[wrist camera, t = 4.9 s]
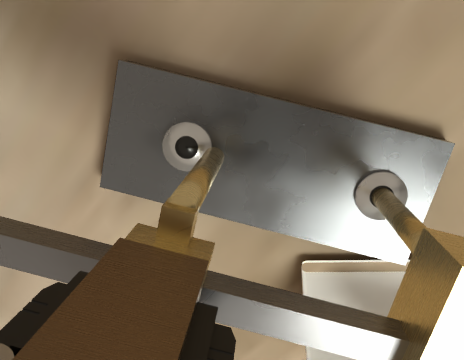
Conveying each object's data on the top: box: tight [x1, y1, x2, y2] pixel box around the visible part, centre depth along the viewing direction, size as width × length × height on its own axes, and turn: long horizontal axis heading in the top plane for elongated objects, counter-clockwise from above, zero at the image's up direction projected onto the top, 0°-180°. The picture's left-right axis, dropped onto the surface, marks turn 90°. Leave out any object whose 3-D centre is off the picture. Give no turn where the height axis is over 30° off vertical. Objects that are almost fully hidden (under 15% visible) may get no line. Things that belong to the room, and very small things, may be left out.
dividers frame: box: [0, 188, 464, 360], centre depth 18 cm, size 18×5×12 cm, turn 77°
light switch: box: [301, 260, 410, 360], centre depth 25 cm, size 8×5×14 cm
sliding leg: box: [12, 147, 224, 360], centre depth 16 cm, size 3×5×17 cm, turn 166°
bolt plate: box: [100, 60, 455, 265], centre depth 24 cm, size 20×8×2 cm, turn 77°
